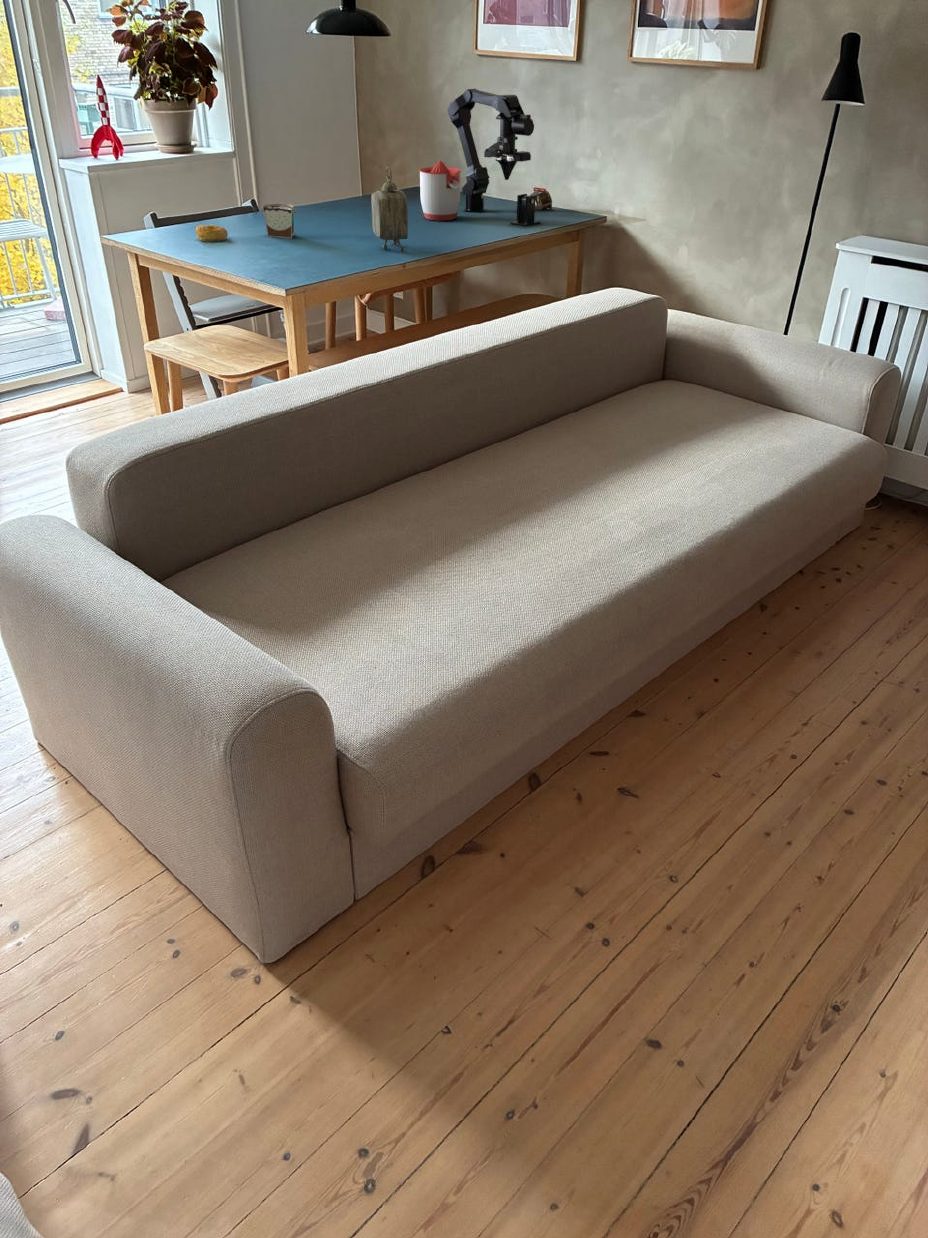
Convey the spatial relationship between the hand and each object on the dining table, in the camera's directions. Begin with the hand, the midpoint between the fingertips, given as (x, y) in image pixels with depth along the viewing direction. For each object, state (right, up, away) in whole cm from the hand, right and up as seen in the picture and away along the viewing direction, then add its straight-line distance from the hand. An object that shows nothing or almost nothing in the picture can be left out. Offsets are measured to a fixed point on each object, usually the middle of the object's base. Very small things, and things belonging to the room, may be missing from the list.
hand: (506, 179), depth 358 cm
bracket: (+7, -20, -7) cm, 22 cm away
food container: (-80, -31, -25) cm, 89 cm away
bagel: (-103, -35, -30) cm, 113 cm away
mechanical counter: (+13, -4, +18) cm, 22 cm away
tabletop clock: (-41, -43, -42) cm, 72 cm away
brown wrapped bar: (+9, -11, -9) cm, 17 cm away
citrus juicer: (-25, -14, +3) cm, 28 cm away
